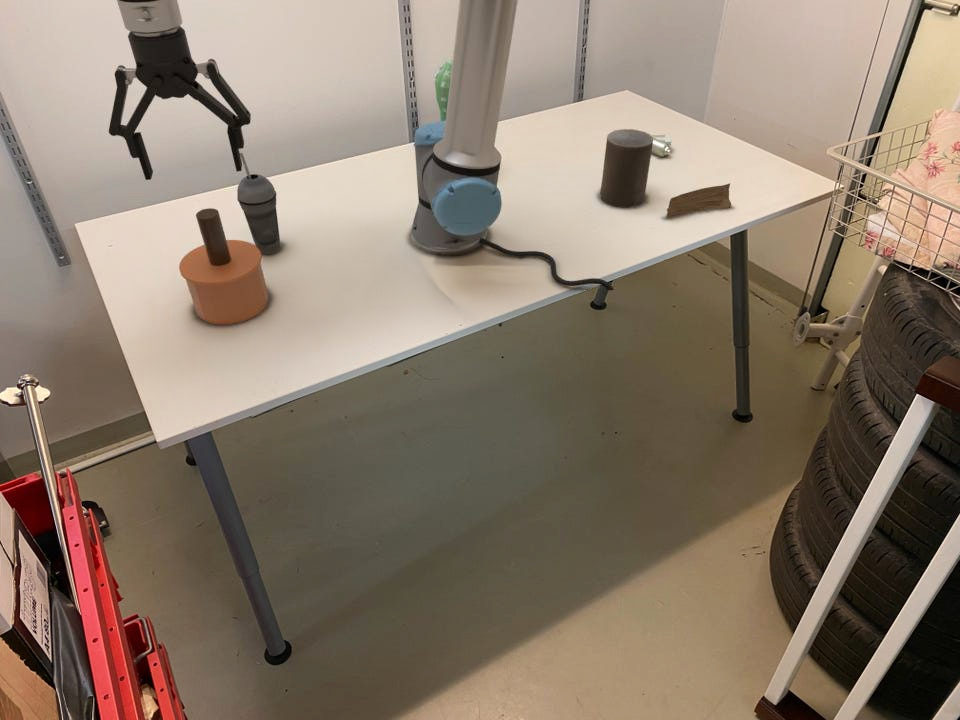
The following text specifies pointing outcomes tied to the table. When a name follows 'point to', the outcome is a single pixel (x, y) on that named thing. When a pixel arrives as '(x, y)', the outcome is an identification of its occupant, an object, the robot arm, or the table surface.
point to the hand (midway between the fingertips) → (194, 172)
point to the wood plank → (699, 200)
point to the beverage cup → (260, 210)
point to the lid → (218, 255)
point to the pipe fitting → (661, 144)
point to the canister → (230, 299)
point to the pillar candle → (626, 167)
